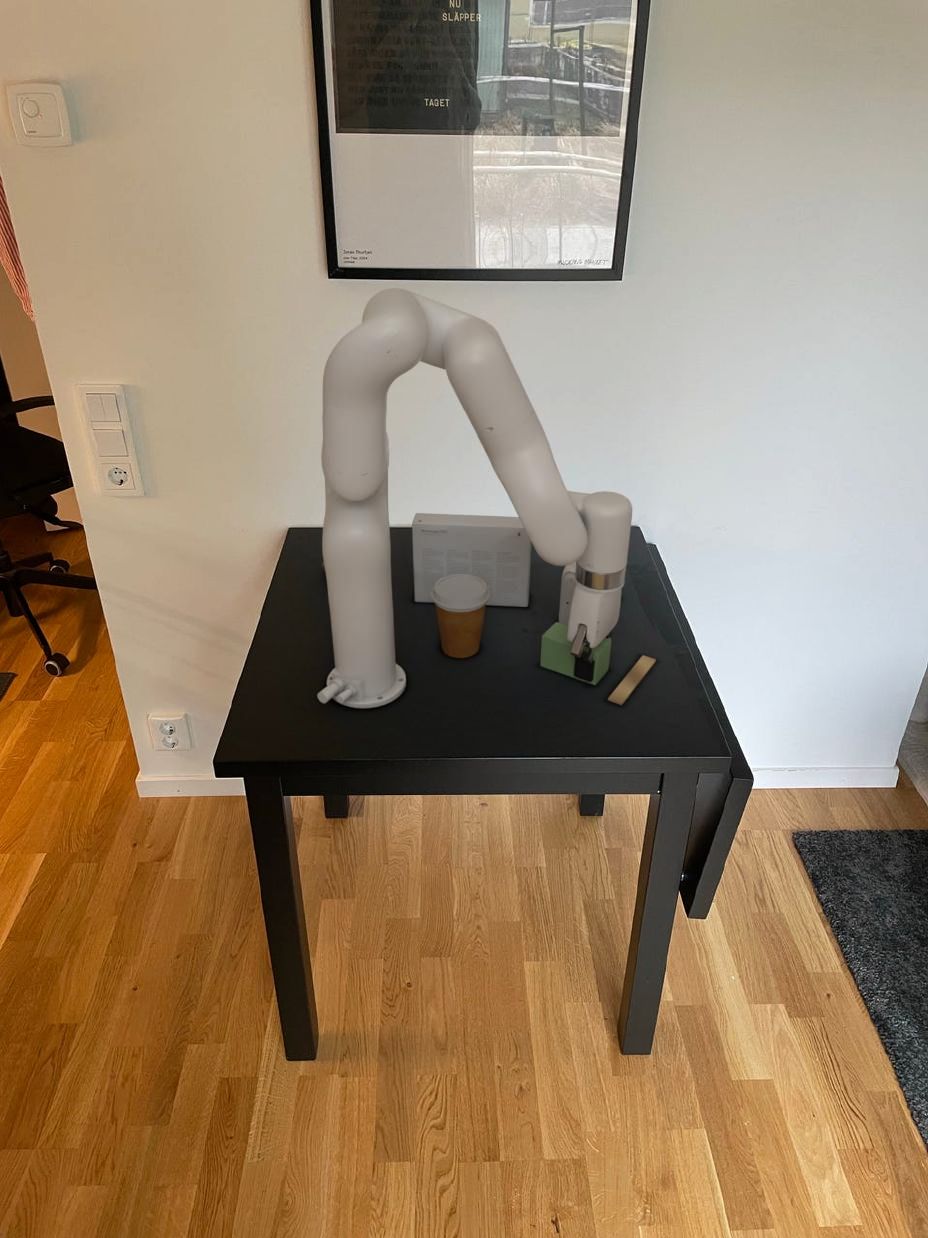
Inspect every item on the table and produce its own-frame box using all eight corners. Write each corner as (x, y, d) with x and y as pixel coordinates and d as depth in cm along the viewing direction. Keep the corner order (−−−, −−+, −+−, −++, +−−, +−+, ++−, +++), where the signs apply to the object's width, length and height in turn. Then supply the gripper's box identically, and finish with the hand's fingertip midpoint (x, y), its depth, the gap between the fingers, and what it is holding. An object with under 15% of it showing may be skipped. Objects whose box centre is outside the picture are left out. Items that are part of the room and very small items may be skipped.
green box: (595, 685, 144) (598, 654, 141) (540, 666, 149) (541, 635, 146) (608, 670, 148) (611, 639, 145) (554, 651, 152) (556, 621, 149)
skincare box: (529, 593, 169) (532, 516, 160) (528, 608, 164) (531, 530, 156) (417, 587, 170) (415, 510, 162) (413, 602, 166) (410, 524, 157)
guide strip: (621, 705, 140) (622, 703, 140) (607, 700, 141) (607, 698, 141) (656, 661, 150) (656, 659, 150) (642, 656, 151) (642, 655, 151)
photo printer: (578, 631, 158) (583, 570, 151) (555, 626, 159) (559, 564, 152) (596, 603, 166) (602, 543, 159) (573, 598, 167) (578, 539, 160)
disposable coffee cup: (476, 627, 159) (476, 568, 152) (497, 656, 151) (498, 595, 145) (424, 638, 156) (423, 578, 149) (443, 668, 148) (442, 606, 142)
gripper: (601, 543, 145) (592, 638, 154) (552, 589, 132) (546, 689, 142) (645, 555, 141) (633, 651, 151) (599, 604, 129) (589, 704, 139)
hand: (591, 668), depth 147 cm, fingers closed on green box, 5 cm apart
